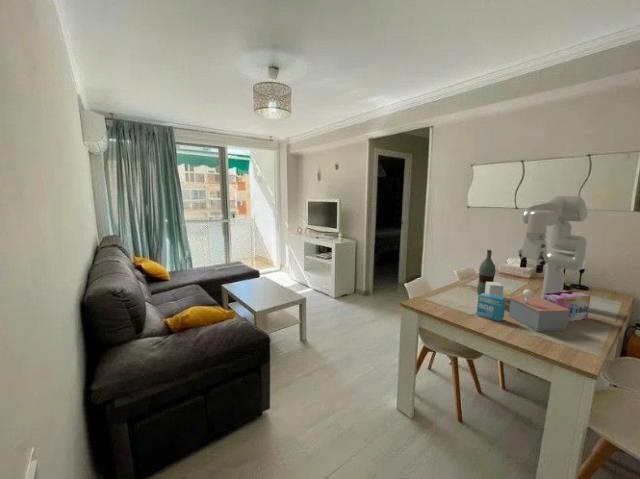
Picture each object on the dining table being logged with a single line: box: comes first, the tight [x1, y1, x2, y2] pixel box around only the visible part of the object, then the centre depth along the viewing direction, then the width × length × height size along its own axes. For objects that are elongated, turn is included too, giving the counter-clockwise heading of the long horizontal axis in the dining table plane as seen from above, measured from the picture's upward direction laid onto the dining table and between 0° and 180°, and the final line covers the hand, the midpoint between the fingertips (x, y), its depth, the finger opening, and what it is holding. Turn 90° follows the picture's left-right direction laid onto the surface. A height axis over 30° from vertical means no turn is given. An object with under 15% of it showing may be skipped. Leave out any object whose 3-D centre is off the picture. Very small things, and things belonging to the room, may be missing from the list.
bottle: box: [476, 249, 496, 296], centre depth 185 cm, size 9×9×30 cm
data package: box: [476, 293, 506, 322], centre depth 153 cm, size 12×4×12 cm, turn 47°
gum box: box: [543, 290, 591, 322], centre depth 153 cm, size 24×8×14 cm, turn 103°
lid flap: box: [510, 289, 570, 312], centre depth 145 cm, size 17×18×8 cm
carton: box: [508, 298, 570, 333], centre depth 147 cm, size 16×18×10 cm
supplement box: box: [485, 281, 504, 297], centre depth 172 cm, size 7×7×13 cm
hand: (530, 270), depth 143 cm, fingers open, 9 cm apart
